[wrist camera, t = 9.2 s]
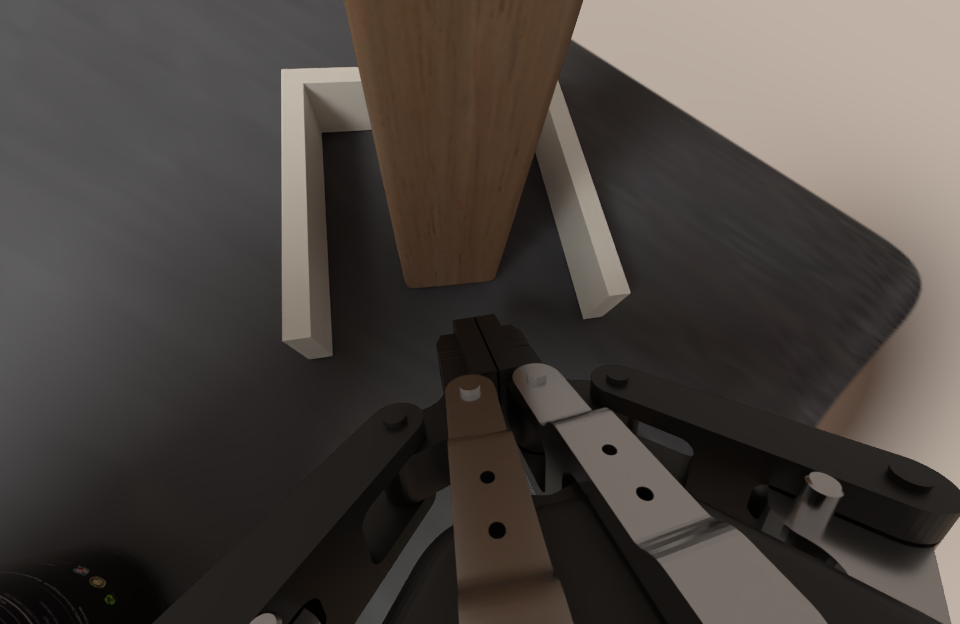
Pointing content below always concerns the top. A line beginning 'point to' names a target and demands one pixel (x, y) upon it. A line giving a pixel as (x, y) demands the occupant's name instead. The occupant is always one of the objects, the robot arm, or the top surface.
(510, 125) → the wooden block
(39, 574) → the supplement bottle
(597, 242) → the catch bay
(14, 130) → the top surface
